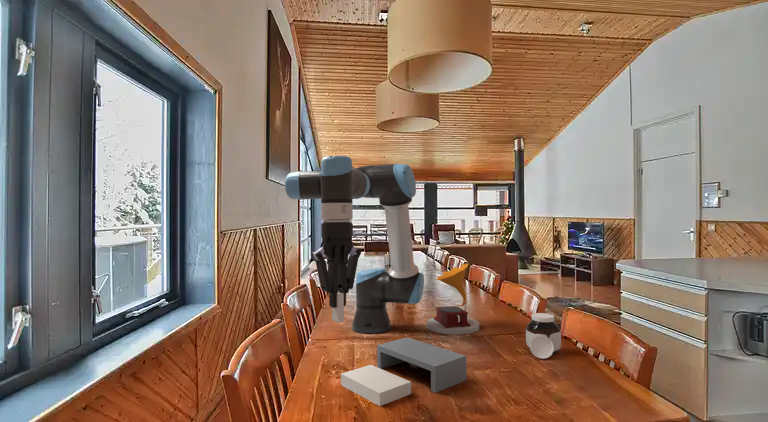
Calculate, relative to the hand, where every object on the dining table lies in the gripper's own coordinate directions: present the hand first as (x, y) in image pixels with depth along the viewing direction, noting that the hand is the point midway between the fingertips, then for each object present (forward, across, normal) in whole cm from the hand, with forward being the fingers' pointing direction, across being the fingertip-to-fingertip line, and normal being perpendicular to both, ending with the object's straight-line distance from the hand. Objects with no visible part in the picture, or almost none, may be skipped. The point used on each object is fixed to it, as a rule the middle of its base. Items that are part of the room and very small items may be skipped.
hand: (337, 320), depth 99 cm
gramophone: (+20, +71, +26) cm, 78 cm away
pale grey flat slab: (+19, +11, 0) cm, 22 cm away
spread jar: (+20, +68, -14) cm, 72 cm away
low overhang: (+19, +27, 0) cm, 33 cm away
